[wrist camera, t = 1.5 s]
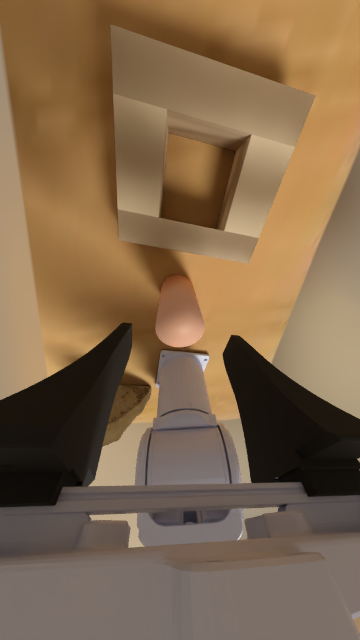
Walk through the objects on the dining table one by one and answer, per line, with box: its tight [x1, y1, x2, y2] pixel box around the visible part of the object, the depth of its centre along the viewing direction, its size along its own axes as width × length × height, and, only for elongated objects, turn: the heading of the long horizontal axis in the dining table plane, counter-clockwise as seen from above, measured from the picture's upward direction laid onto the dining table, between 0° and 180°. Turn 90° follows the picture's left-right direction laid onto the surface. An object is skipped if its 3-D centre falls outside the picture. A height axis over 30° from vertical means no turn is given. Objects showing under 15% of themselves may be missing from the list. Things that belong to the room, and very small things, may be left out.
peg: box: [155, 275, 205, 347], centre depth 16 cm, size 4×4×8 cm
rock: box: [102, 385, 151, 447], centre depth 28 cm, size 11×9×10 cm
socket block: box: [110, 24, 315, 264], centre depth 13 cm, size 10×12×3 cm
